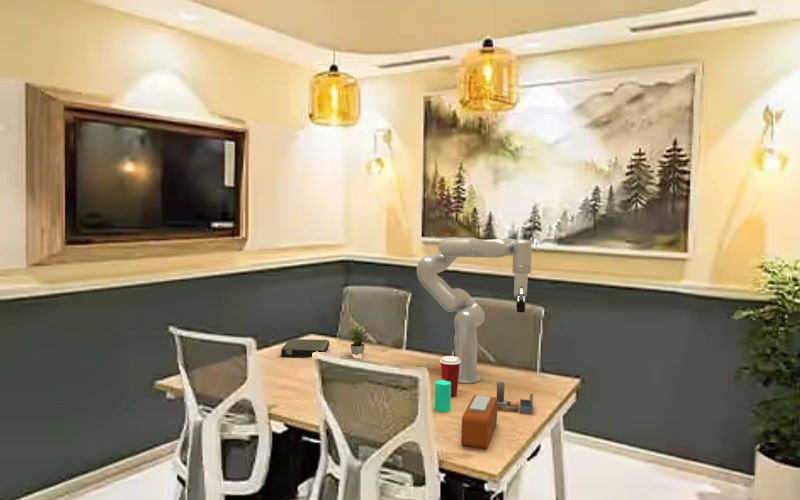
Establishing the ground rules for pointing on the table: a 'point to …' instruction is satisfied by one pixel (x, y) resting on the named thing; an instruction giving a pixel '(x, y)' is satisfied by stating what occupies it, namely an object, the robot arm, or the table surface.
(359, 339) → the house plant
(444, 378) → the coffee cup
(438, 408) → the candle
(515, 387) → the table surface
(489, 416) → the alarm clock
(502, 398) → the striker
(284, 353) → the network switch
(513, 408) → the frame
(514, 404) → the ball
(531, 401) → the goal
